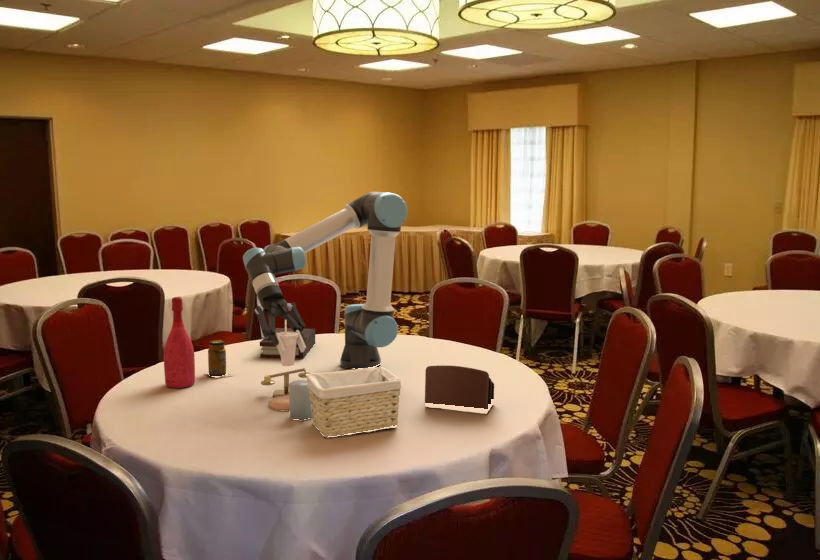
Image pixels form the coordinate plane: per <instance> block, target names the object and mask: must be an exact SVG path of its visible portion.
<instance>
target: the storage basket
mask: <svg viewBox="0 0 820 560" xmlns="http://www.w3.org/2000/svg"><path fill="white" fill-rule="evenodd" d="M311 373H312V372H311ZM306 380H307V387H308V389H309V394H310V402H311V410H312V411H311V412H312V418H311V420H312V422H313V423H312V425H313V424H314V425H315V426H316V427H317V428H318V429H319V431H320V432H321V433H322V434H323V435H324V437H328V436H337V435H344V434H348V433H356V432H363V431H368V430H374V429H380V428H384V427H390V426H392V425H393V426H395V425H397V426H398V420H399V408H400V407H399V406H400V405H399V402H400V396H401V388H402V387H401V386H402V385H401V384H402V383H401V382H402V381H401V379H400V378H399V377H397V375H395V374H394V373H393V372H391V370H388V369H387V368H384V367H383V366H379V367H375V368H363V369H346V370H338V371H336V370H335V371H327V372H316V373H312V374H308V375H307V378H306ZM314 425H313V426H314ZM315 426H314V427H315ZM316 427H315V428H316ZM317 428H316V429H317ZM319 431H318V432H319ZM320 432H319V433H320ZM321 433H320V434H321ZM324 437H323V438H324Z"/></svg>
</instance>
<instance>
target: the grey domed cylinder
mask: <svg viewBox="0 0 820 560" xmlns="http://www.w3.org/2000/svg"><path fill="white" fill-rule="evenodd" d="M289 406H290V411H289V419H291V418H292V419H291V420H293V419H299V420H302V421H305V420H304V419H308V418H311V419H312V412H311V411H312V410H311V402H310V394H309V389H308V387H307V379H303V380H293V381H290V382H289ZM299 420H298V421H299Z"/></svg>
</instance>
